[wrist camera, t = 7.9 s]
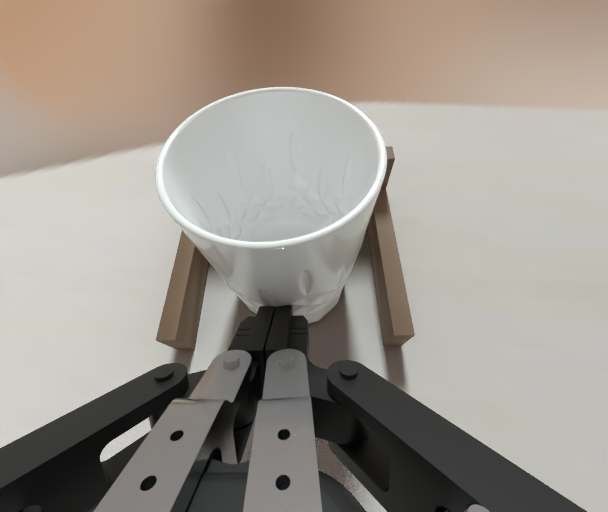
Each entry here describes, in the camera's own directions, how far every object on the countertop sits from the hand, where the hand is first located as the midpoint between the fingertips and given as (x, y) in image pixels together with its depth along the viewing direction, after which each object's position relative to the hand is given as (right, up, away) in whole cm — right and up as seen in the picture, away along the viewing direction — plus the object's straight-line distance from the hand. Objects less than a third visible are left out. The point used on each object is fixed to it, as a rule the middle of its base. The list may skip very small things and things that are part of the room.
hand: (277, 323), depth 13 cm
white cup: (+1, +2, +5) cm, 6 cm away
